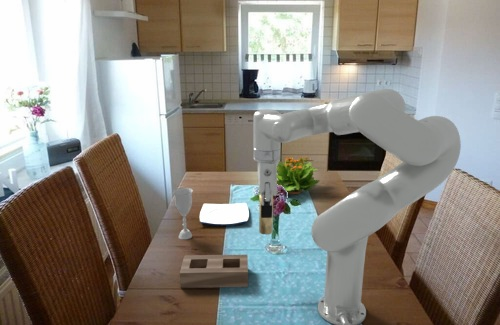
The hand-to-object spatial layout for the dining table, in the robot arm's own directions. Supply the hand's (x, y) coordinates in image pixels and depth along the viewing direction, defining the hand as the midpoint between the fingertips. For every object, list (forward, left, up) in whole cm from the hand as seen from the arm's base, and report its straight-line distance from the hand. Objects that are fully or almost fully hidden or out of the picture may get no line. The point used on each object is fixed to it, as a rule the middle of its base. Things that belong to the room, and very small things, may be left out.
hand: (266, 213), depth 117 cm
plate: (+45, +14, -22) cm, 52 cm away
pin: (0, 0, -6) cm, 6 cm away
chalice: (+28, +28, -21) cm, 45 cm away
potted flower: (+75, -18, -22) cm, 80 cm away
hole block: (0, +15, -21) cm, 26 cm away
